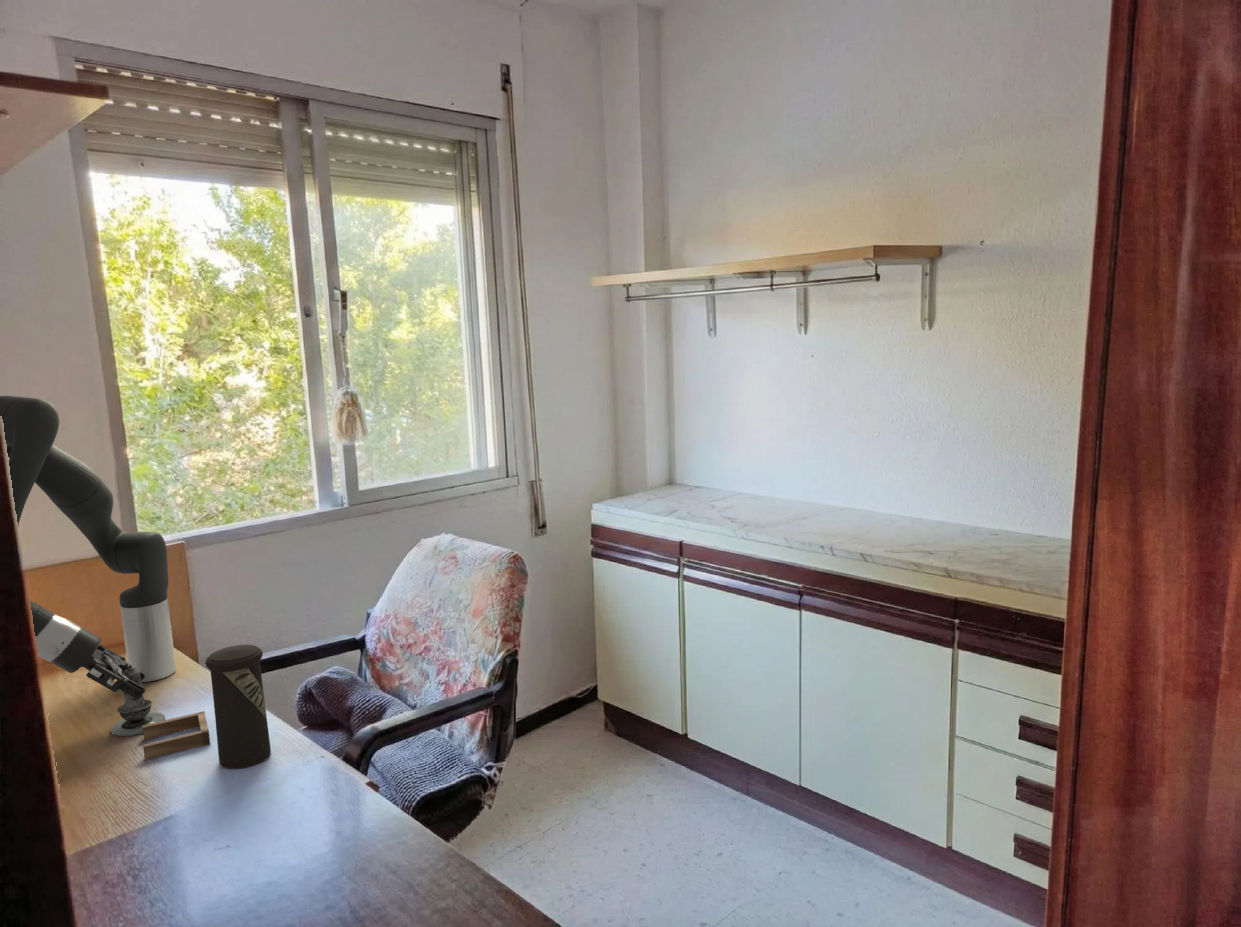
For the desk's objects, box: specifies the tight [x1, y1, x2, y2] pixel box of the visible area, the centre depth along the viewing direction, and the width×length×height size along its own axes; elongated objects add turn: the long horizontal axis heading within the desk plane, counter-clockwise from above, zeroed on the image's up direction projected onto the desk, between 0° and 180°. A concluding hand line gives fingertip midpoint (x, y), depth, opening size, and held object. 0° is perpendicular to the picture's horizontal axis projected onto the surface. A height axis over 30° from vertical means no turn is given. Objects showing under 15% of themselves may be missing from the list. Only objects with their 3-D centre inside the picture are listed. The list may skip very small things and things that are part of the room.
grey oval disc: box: [110, 712, 166, 737], centre depth 155 cm, size 9×9×1 cm
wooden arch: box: [142, 710, 211, 761], centre depth 148 cm, size 10×10×2 cm
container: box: [204, 644, 272, 769], centre depth 139 cm, size 9×9×20 cm
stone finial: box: [116, 665, 153, 729], centre depth 154 cm, size 6×6×12 cm
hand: (142, 686), depth 155 cm, fingers open, 8 cm apart
